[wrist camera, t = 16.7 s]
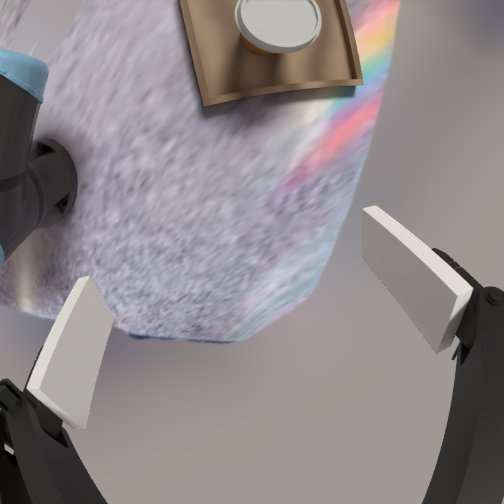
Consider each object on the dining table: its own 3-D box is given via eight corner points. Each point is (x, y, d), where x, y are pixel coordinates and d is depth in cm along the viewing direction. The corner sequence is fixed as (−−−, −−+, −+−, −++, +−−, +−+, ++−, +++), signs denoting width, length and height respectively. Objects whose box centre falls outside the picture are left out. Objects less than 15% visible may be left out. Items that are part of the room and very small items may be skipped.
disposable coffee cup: (305, 29, 31) (339, 8, 20) (275, 77, 34) (300, 67, 24) (249, 0, 27) (263, -34, 17) (216, 47, 31) (218, 25, 21)
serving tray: (204, 106, 36) (203, 106, 34) (178, -7, 26) (176, -13, 24) (356, 85, 37) (363, 85, 34) (331, -20, 26) (337, -24, 24)
